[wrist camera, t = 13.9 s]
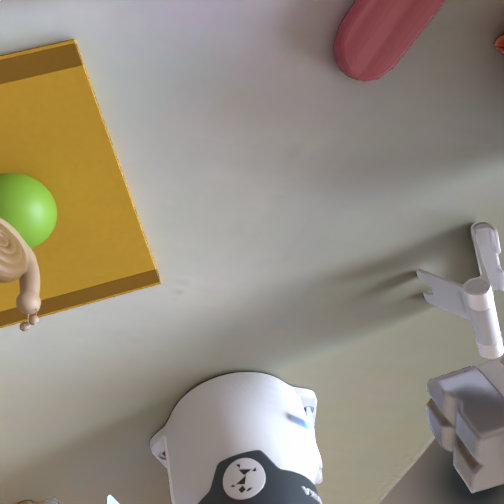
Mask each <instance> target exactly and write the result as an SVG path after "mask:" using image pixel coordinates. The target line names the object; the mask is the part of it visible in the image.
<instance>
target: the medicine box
mask: <svg viewBox="0 0 504 504" xmlns="http://www.w3.org/2000/svg"><path fill="white" fill-rule="evenodd" d="M494 45H495V47H496V48H497V49H498V50H499V51H500V52H502V53H503V54H504V35H503V36H500V37H499V38H498V39H497V40H496V42H495V43H494Z"/></svg>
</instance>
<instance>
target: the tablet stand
mask: <svg viewBox="0 0 504 504" xmlns="http://www.w3.org/2000/svg"><path fill="white" fill-rule="evenodd" d="M470 229H471V239H472V241H473V243H474V248H475V252H476V257H477V262H478V266H479V271H480V275H481V276H479V277H476V278H472V279H469V280H468V281H466V282H465V283H464V285H461V284H459V283H456V282H453V281H451V280H448V279H445V278H442V277H440V276H437V275H434V274H432V273H429V272H426V271H423V270H421V269H419V270H417V276H418V279H419V280H421V281H424V282H426V283H428V284H429V285H430V287H431V290H432V293H433V294H431V293H428V292H423V295H424V298H425V300H426V301H427V302H428V303H430V304H432V305H435V306H437V307H440V308H442V309H444V310H447V311H449V312H451V313H453V314H456V315H458V316H460V317H463V318H465V319H467V320H470V321H471V322H472V326H473V330H474V334H475V338H476V342H477V346H478V350H479V353H480V354H481V356H483V357H485V358H488V359H495V358H498V357H500V356H501V355H502V354H503V351H504V348H503V344H504V343H503V338H502V333H501V332H500V329H499V324H498V319H497V314H496V309H495V304H494V299H493V295H494V293H493V291H494V290H501V291H502V292H504V270H503V269H502V268H501V267H500V263H499V257H498V254H499V253H500V252H501V249H500V244H499V238H498V232H497V228H496V227H495V226H494V225H493V224H492V223H491V222H489V221H478V222H475V223H474V224H472V226H471V228H470Z"/></svg>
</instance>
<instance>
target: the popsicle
mask: <svg viewBox="0 0 504 504" xmlns="http://www.w3.org/2000/svg"><path fill="white" fill-rule="evenodd" d="M444 2H445V0H356V1H355V2H354V4H353V6H352V7H351V9H350V10H349V12H348V13H347V15H346V16H345V18H344V20H343V21H342V23H341V24H340V26H339V29H338V33H337V36H336V39H335V43H334V50H335V59H336V62H337V64H338V65H339V67H340V69H341V71H342V72H344V73H345V74H346V75H347V76H349V77H351V78H353V79H356V80H360V81H364V82H365V81H370V80H376V79H379V78H380V77H381V76H383V75H384V74H386V73H387V72H388V71H390V70H391V69H393V67H394V66H395V65H396V64H397V62H398V61H399V60H400V59H401V57H402V56H403V55H404V53H405V52H406V51H407V50H408V48H409V47H410V46H411V44H412V43H413V42H414V41H415V39H416V38H417V37H418V35H419V34H420V33H421V32H422V30H423V29H424V28H425V27H426V25H427V24H428V23H429V21H430V20H431V19H432V18H433V16H434V15H435V14H436V12H437V11H438V10H439V8H440V7H441V6H442V4H443V3H444Z"/></svg>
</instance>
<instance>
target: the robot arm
mask: <svg viewBox="0 0 504 504" xmlns="http://www.w3.org/2000/svg"><path fill="white" fill-rule="evenodd" d="M427 392H428V394H429V395H430V396H431V399H430V401H429V402H428V403H427V405H426V409H427V418H428V421H429V425H430V428H431V430H432V432H433V434H434V436H435V438H436V439H437V441H438V442H439V444H440V445H441V447H443V448H445V449H447V450H448V451H450V452H452V453H454V462H453V465H454V467H455V468H456V470H457V471H458V473H459V474H460V476H461V477H462V478H463V480H464V482H465V483H466V485H467V486H468V488H469V489H470V491H471V492H472V493H474V492H478V491H481V490H484V489H487V488H491V487H494V486H498V485H501V484H504V366H503V365H502V364H501V363H500V362H498V361H496V360H489V361H486V362H483V363H480V364H477V365H474V366H469V367H465V368H462V369H459V370H456V371H453V372H450V373H447V374H444V375H441V376H438V377H435V378H432V379H430V380H429V381H428V383H427ZM316 405H317V400H316V396H315V393H314V392H313V391H312V390H309V389H305V388H298V387H292V386H290V385H288V384H286V383H285V382H283V381H281V380H280V379H278V378H276V377H274V376H271V375H268V374H264V373H257V372H237V373H231V374H226V375H222V376H219V377H216V378H213V379H210V380H208V381H206V382H204V383H202V384H200V385H198V386H197V387H195V388H194V389H192V390H191V391H190V392H188V393H187V394H186V395H185V396H184V397H183V398H182V399H181V400H180V401H179V402H178V403H177V405H176V406H175V408H174V409H173V411H172V413H171V415H170V418H169V420H168V422H167V423H166V425H165V426H164V427H163V428H162V429H161V430H160V431H158V432H157V433H156V434H155V435H154V436H153V437H152V439H151V440H150V448H151V452H152V453H153V455H154V456H155V457H156V458H157V459H158V460H159V461H160V462H161V463H162V465H163V466H164V467H165V468H166V469H167V470H168V477H169V485H170V493H171V500H172V504H322V501H321V499H320V498H319V496H318V493H317V490H316V487H315V485H316V484H321V483H322V481H323V478H322V472H321V469H322V461H321V457H320V454H319V451H318V448H317V445H316V442H315V434H314V422H315V414H316ZM32 504H60V503H59V502H58V501H57V499H56V498H55V497H53V498H49V499H46V500H43V501H39V502H36V503H32ZM107 504H119V503H118V502H117V501H116V500H115V499H114V498H113V497H112V496H111V495H109V496H108V497H107Z"/></svg>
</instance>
